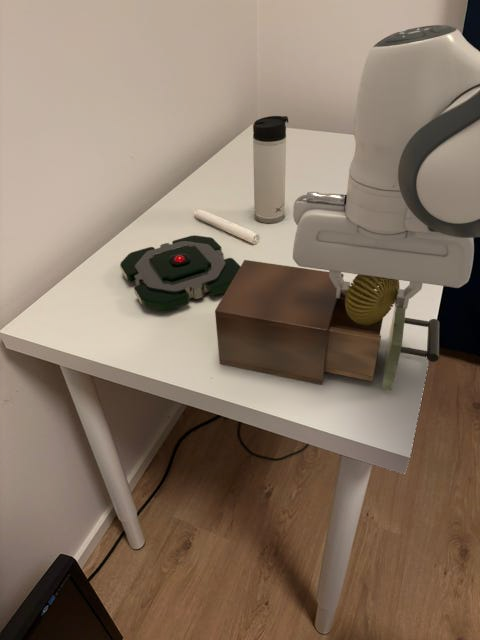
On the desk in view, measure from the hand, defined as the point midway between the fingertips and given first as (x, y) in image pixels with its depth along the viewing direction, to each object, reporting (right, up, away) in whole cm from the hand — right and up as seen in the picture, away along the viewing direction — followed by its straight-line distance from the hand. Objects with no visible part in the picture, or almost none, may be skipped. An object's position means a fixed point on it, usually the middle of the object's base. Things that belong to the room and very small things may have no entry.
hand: (371, 300), depth 61 cm
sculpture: (0, -3, +2) cm, 3 cm away
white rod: (-20, +16, +37) cm, 45 cm away
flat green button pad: (-27, +5, +24) cm, 36 cm away
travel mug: (-10, +19, +41) cm, 46 cm away
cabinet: (-11, -6, +10) cm, 16 cm away
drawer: (0, -7, +6) cm, 9 cm away
